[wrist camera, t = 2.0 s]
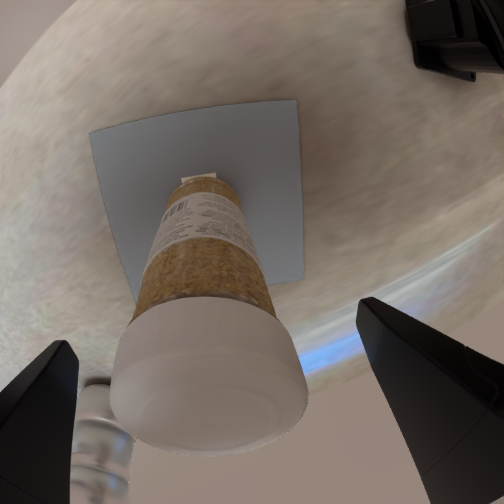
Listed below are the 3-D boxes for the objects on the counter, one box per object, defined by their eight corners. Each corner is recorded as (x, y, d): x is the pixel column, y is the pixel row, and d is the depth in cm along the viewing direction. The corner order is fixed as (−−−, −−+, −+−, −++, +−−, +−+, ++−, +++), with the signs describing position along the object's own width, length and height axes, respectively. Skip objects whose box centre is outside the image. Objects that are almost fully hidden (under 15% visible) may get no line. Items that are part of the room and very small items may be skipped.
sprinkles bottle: (194, 258, 19) (194, 471, 7) (150, 201, 17) (65, 403, 5) (256, 220, 18) (338, 422, 6) (216, 158, 16) (246, 319, 4)
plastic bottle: (135, 417, 27) (132, 583, 9) (78, 398, 24) (54, 564, 7) (150, 389, 25) (148, 591, 7) (82, 365, 22) (47, 569, 5)
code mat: (295, 99, 15) (296, 99, 15) (302, 277, 21) (303, 279, 21) (90, 132, 14) (89, 133, 14) (136, 302, 20) (136, 304, 20)
